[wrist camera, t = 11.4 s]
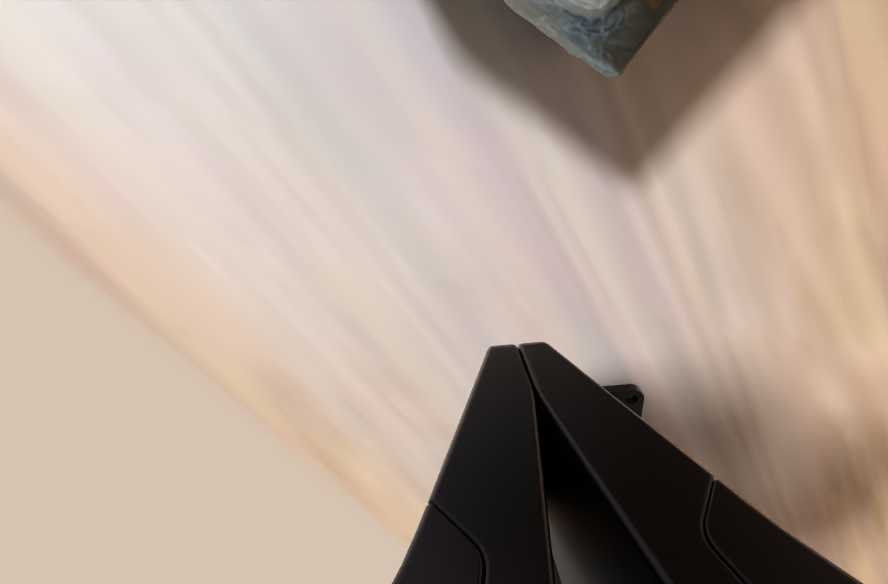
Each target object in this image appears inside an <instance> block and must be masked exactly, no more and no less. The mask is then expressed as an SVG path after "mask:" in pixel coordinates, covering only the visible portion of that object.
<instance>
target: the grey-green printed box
mask: <svg viewBox="0 0 888 584" xmlns="http://www.w3.org/2000/svg"><path fill="white" fill-rule="evenodd" d="M678 1H679V0H504V2H505V3H506V4H507V5H508V6H509V7H510V8H511V9H512V10H513V11H514V12H515V13H517V14H518V15H520V16H521V17H523V18H524V19H526V20H527V21H529V22H530V23H532V24H533V25H534V26H535V27H537V28H538V29H539V30H540V31H542V32H543V33H544V34H545V35H547V36H548V37H549V38H551V39H552V40H554V41H555V42H556V43H558V44H559V45H560V46H561V47H563V48H564V49H565V50H566V51H567V52H568V53H569V54H570V55H572V56H574V57H576V58H578V59H581V60H583V61H584V62H585V63H586V64H588V65H589V66H590V67H591V68H593V69H594V70H595V71H596V72H598V73H600V74H602V75H604V76H606V77H610V78H611V77H615V76H618V75H620V74H622V72H623V71H624V69H625V67H626V66H627V64H628V63H629V62H630V60H631V59H632V58H633V56H634V55H635V54H636V52H637V51H638V50H639V49H640V47H641V46H642V45H643V44H644V42H645V41H646V40H647V38H648V37H649V36H650V35H651V33H652V32H653V31H654V30H655V28H656V27H657V26H658V25H659V24H660V22H661V21H662V20H663V19H664V18H665V17H666V15H667V14H668V13H669V12H670V11H671V9H672V8H673V7H674V6H675V5H676V3H677V2H678Z"/></svg>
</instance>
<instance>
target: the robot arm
mask: <svg viewBox="0 0 888 584" xmlns="http://www.w3.org/2000/svg"><path fill="white" fill-rule="evenodd" d="M630 395H634V396H632V397H630V398H627V397H629V396H630ZM643 401H644V396H643V394H642V392H641V390H640V388H639V387H638V386H636V385H633V384H627V385H615V386H604V387H602V386H600V385H599V384H598V383H596V382H595V381H594V380H593V379H591V378H590V377H589V376H588V375H586V374H585V373H584V372H583V371H581V370H580V369H579V368H578V367H576V366H575V365H574V364H573V363H571V362H570V361H569V360H567V359H566V358H565V357H564V356H562V355H561V354H560V353H559V352H557V351H556V350H555V349H554V348H552V347H551V346H550V345H549V344H547V343H545V342H534V343H523V344H520V345H519V346H518V348H517V346H515V345H512V344H511V345H499V346H491V347H489V349H488V350H487V353H486V355H485V358H484V361H483V363H482V366H481V368H480V371H479V373H478V376H477V379H476V381H475V384H474V386H473V389H472V391H471V394H470V396H469V399H468V402H467V404H466V407H465V409H464V412H463V414H462V417H461V419H460V422H459V425H458V427H457V430H456V432H455V435H454V437H453V440H452V443H451V445H450V448H449V450H448V453H447V455H446V458H445V460H444V463H443V466H442V468H441V471H440V473H439V476H438V478H437V481H436V484H435V486H434V489H433V491H432V494H431V496H430V499H429V502H428V504H429V505H428V506H426V508H425V511H424V513H423V516H422V518H421V521H420V524H419V526H418V529H417V531H416V533H415V536H414V538H413V540H412V542H411V545H410V547H409V549H408V552H407V554H406V556H405V558H404V561H403V563H402V565H401V567H400V569H399V571H398V573H397V575H396V577H395V579H394V581H393V583H392V584H863V583H862V582H860V581H859V580H857V579H856V578H854V577H853V576H851V575H850V574H848V573H847V572H845V571H844V570H842V569H841V568H839V567H838V566H836V565H835V564H833V563H832V562H830V561H829V560H827V559H826V558H824V557H823V556H822V555H820V554H819V553H817V552H816V551H814V550H813V549H811V548H810V547H809V546H807V545H806V544H804V543H803V542H801V541H800V540H799V539H797V538H796V537H794V536H793V535H791V534H790V533H788V532H787V531H786V530H784V529H783V528H781V527H780V526H779V525H777V524H776V523H775V522H773V521H772V520H771V519H770V518H768V517H767V516H766V515H764V514H763V513H762V512H760V511H759V510H758V509H756V508H755V507H754V506H752V505H751V504H750V503H748V502H747V501H746V500H744V499H743V498H742V497H741V496H739V495H738V494H737V493H736V492H734V491H733V490H732V489H730V488H729V487H728V486H727V485H725V484H724V483H723V482H722V481H720V480H718V479H716V480H714V476H713V475H712V474H711V473H710V472H709V471H707V470H706V469H705V468H704V467H702V466H701V465H700V464H699V463H697V462H696V461H695V460H694V459H692V458H691V457H690V456H689V455H687V454H686V453H685V452H683V451H682V450H681V449H680V448H678V447H677V446H676V445H675V444H673V443H672V442H671V441H670V440H668V439H667V438H666V437H665V436H663V435H662V434H661V433H660V432H658V431H657V430H656V429H654V428H653V427H652V426H651V425H649V424H648V423H647V422H646V421H644V420H643V419H642V418H641V414H642V408H643Z"/></svg>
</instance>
